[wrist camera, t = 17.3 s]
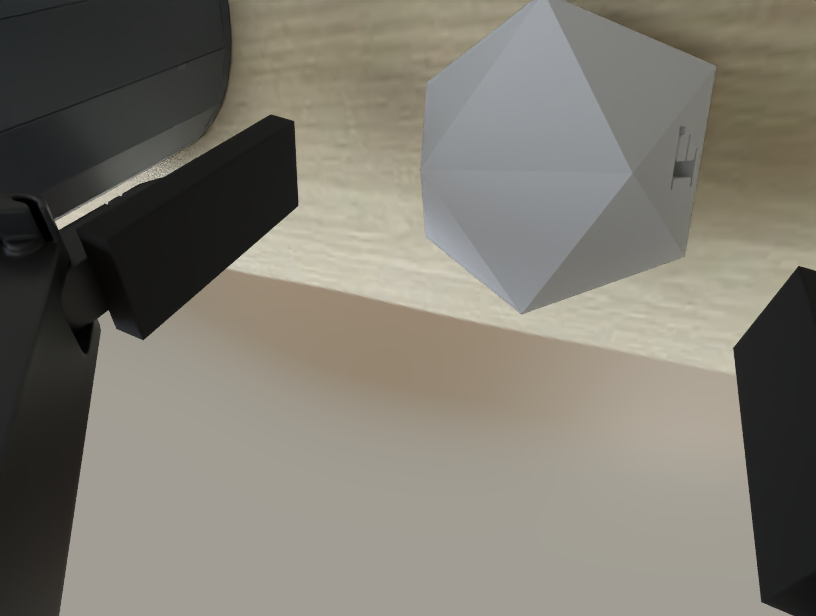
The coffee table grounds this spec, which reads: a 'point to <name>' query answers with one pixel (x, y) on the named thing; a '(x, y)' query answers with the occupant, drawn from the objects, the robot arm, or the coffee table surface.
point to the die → (563, 154)
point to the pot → (104, 90)
